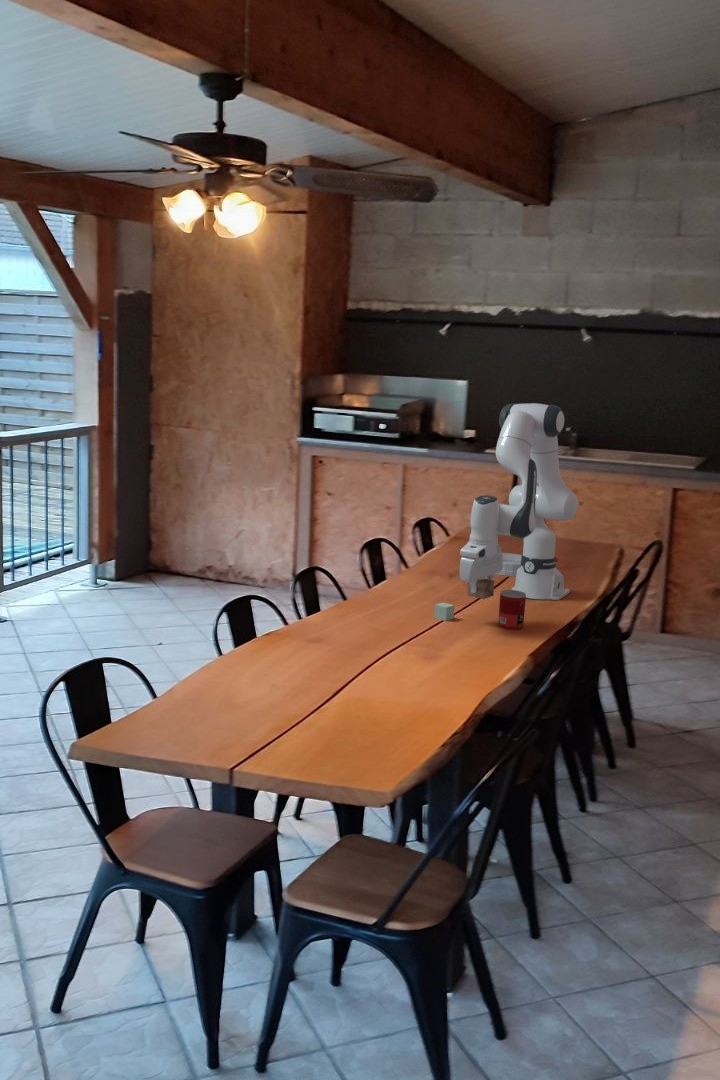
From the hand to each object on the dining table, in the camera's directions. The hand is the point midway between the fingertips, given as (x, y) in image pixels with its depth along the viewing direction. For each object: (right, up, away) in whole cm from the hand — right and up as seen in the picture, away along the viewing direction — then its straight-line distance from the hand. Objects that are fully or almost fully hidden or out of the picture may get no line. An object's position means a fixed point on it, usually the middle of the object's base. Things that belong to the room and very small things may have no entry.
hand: (480, 590), depth 337 cm
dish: (+19, +4, +82) cm, 84 cm away
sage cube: (-11, -9, +5) cm, 15 cm away
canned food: (+9, -12, -1) cm, 15 cm away
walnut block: (0, -2, 0) cm, 2 cm away
